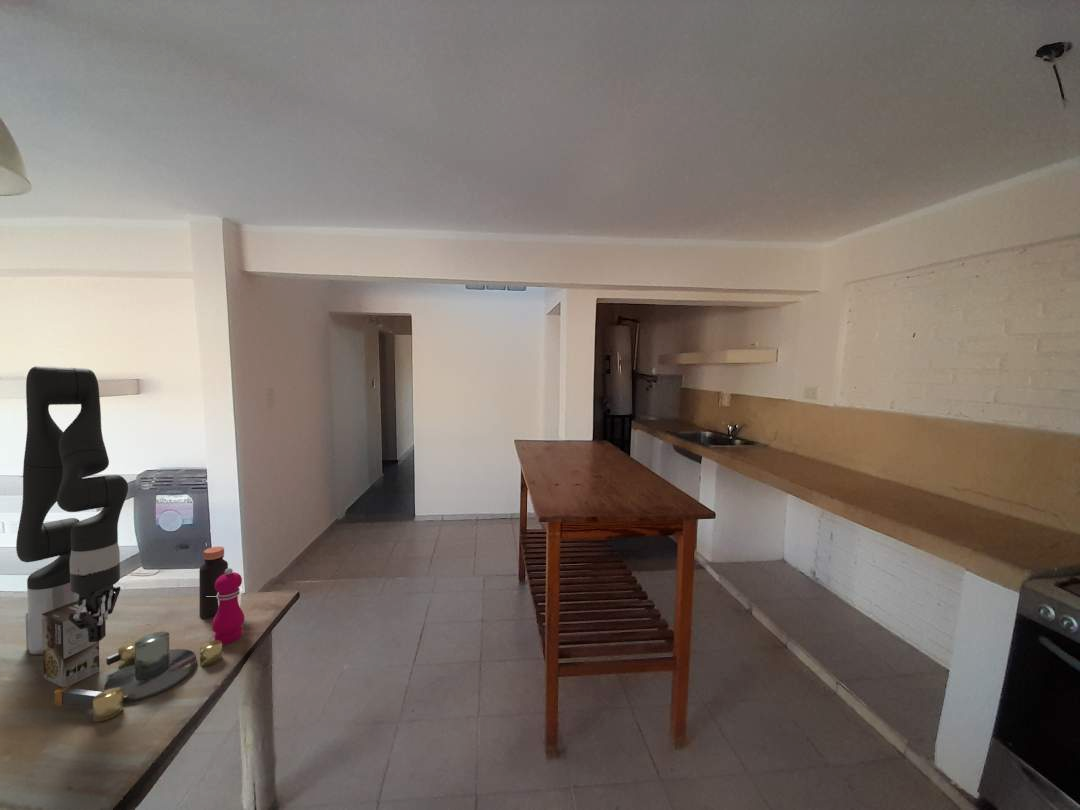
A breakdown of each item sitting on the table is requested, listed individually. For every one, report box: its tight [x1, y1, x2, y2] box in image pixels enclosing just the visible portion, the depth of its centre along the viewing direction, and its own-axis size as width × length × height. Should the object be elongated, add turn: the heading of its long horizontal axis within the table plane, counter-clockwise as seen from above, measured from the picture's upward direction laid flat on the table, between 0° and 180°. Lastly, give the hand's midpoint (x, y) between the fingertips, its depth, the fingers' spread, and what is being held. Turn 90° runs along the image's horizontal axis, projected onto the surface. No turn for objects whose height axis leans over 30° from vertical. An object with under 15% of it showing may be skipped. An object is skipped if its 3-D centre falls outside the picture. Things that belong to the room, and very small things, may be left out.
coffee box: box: [41, 601, 100, 688], centre depth 97 cm, size 9×6×16 cm
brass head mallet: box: [54, 686, 124, 723], centre depth 87 cm, size 14×4×4 cm, turn 85°
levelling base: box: [103, 631, 223, 704], centre depth 99 cm, size 23×19×10 cm
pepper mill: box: [211, 567, 245, 645], centre depth 112 cm, size 7×7×20 cm
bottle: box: [198, 546, 229, 619], centre depth 124 cm, size 7×7×20 cm
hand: (97, 639), depth 91 cm, fingers closed
